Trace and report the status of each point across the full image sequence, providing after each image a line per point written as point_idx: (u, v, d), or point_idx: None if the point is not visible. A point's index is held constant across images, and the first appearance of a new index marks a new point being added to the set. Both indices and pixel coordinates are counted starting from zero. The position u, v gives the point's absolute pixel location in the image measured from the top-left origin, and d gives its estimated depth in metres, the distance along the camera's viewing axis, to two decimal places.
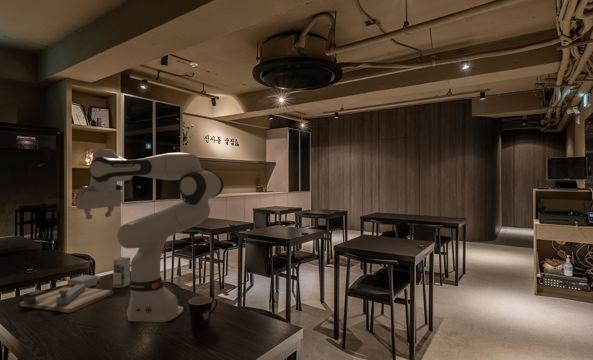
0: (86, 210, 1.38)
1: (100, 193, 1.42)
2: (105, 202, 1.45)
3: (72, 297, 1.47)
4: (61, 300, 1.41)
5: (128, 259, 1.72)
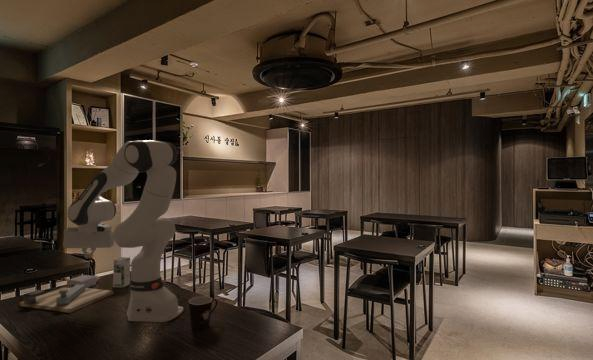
0: None
1: (81, 234, 1.49)
2: (90, 243, 1.50)
3: (72, 297, 1.47)
4: (61, 300, 1.41)
5: (128, 259, 1.72)
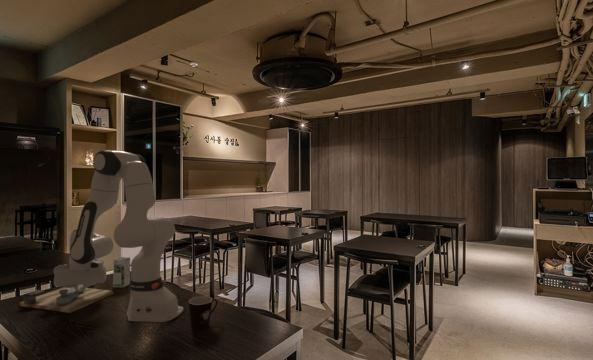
0: None
1: (73, 271, 1.49)
2: (83, 279, 1.50)
3: (72, 297, 1.47)
4: (61, 300, 1.41)
5: (128, 259, 1.72)
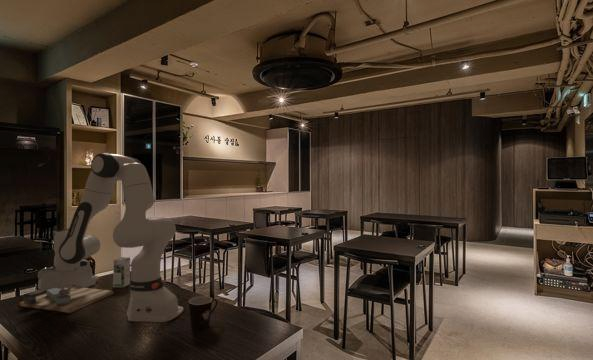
0: (60, 287, 1.49)
1: (62, 272, 1.47)
2: (70, 279, 1.50)
3: None
4: (66, 299, 1.42)
5: (128, 259, 1.72)
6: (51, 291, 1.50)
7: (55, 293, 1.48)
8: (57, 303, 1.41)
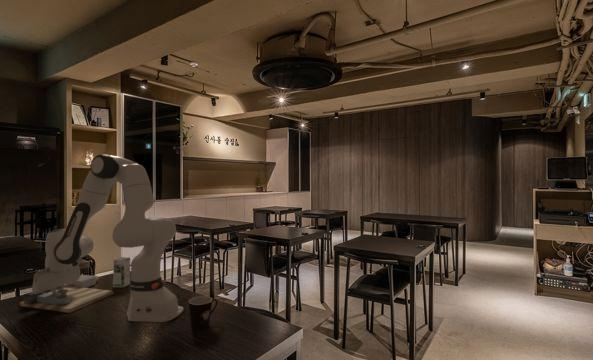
0: (52, 289, 1.46)
1: (56, 273, 1.46)
2: (63, 280, 1.49)
3: None
4: (68, 298, 1.43)
5: (128, 259, 1.72)
6: (38, 295, 1.45)
7: (47, 296, 1.44)
8: (59, 303, 1.41)
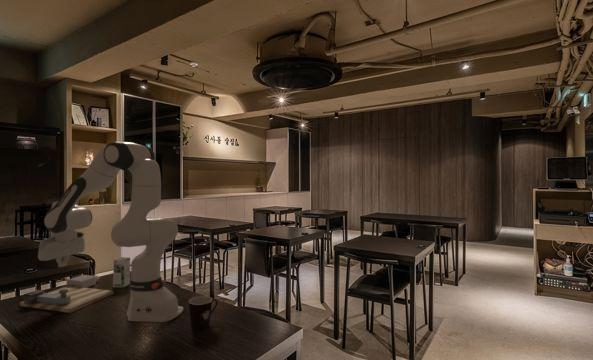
0: (57, 259, 1.48)
1: (62, 242, 1.48)
2: (68, 250, 1.51)
3: None
4: (68, 298, 1.43)
5: (128, 259, 1.72)
6: (38, 295, 1.45)
7: (47, 296, 1.44)
8: (59, 303, 1.41)
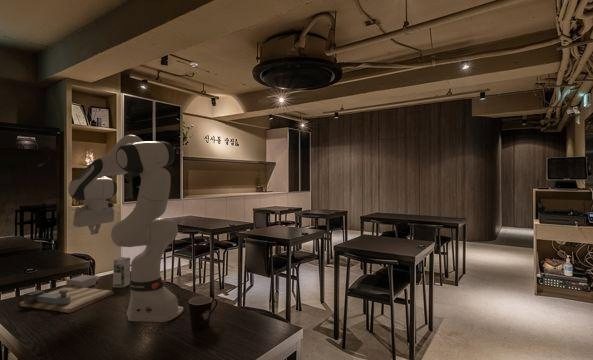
0: (90, 226, 1.55)
1: (94, 211, 1.55)
2: (100, 219, 1.58)
3: None
4: (68, 298, 1.43)
5: (128, 259, 1.72)
6: (38, 295, 1.45)
7: (47, 296, 1.44)
8: (59, 303, 1.41)
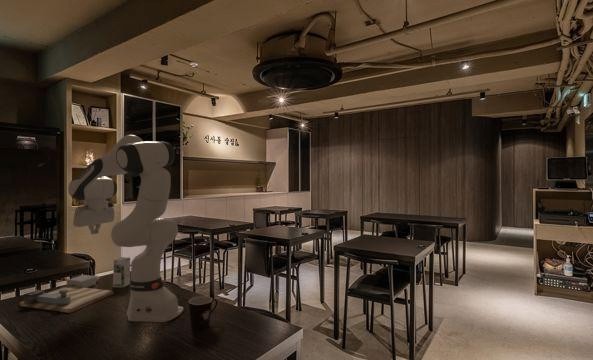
0: (90, 226, 1.55)
1: (94, 211, 1.55)
2: (100, 219, 1.58)
3: None
4: (68, 298, 1.43)
5: (128, 259, 1.72)
6: (38, 295, 1.45)
7: (47, 296, 1.44)
8: (59, 303, 1.41)
